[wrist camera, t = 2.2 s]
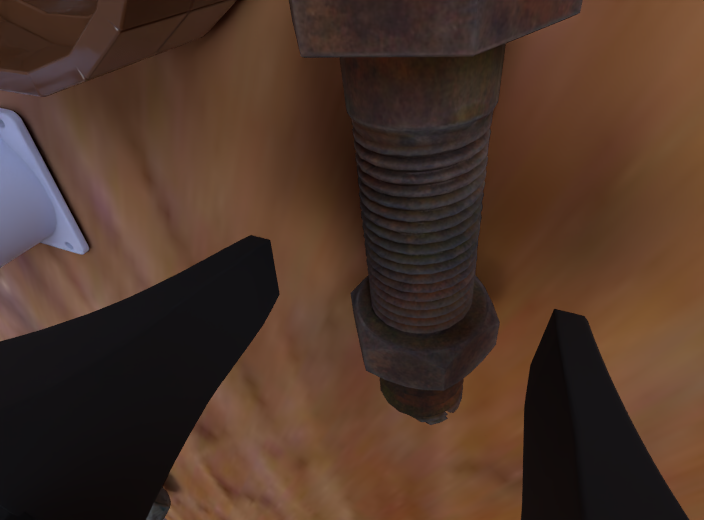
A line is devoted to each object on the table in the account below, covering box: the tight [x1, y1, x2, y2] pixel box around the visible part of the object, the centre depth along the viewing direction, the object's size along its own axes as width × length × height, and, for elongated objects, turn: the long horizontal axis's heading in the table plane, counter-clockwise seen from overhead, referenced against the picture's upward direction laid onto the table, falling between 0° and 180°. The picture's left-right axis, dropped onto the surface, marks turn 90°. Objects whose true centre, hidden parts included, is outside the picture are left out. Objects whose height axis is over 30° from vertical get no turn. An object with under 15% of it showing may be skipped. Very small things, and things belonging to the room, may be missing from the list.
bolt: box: [289, 0, 582, 425], centre depth 12 cm, size 6×5×15 cm
